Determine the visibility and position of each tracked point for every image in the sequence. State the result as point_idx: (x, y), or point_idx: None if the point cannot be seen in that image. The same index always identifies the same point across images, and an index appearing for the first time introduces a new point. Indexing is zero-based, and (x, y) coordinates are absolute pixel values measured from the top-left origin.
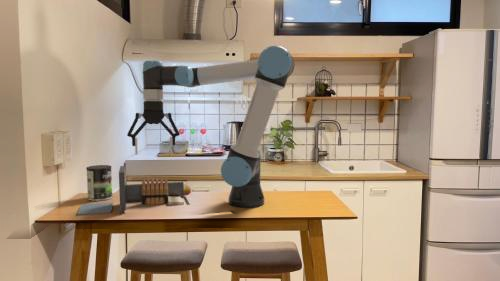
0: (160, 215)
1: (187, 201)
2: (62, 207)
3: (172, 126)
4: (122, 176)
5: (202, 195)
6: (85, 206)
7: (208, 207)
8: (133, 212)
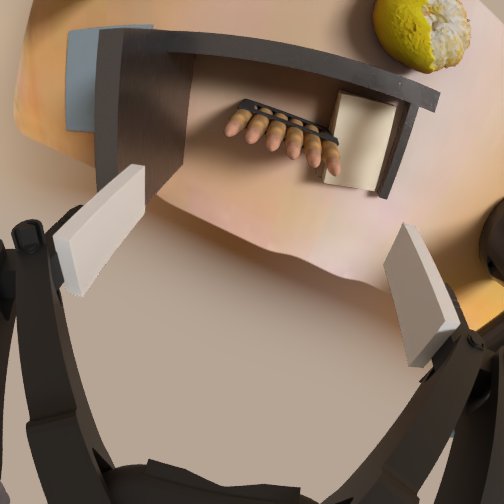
0: (275, 224)
1: (396, 164)
2: (34, 38)
3: (451, 464)
4: None
5: (488, 73)
6: (77, 56)
7: (428, 219)
8: (206, 158)
